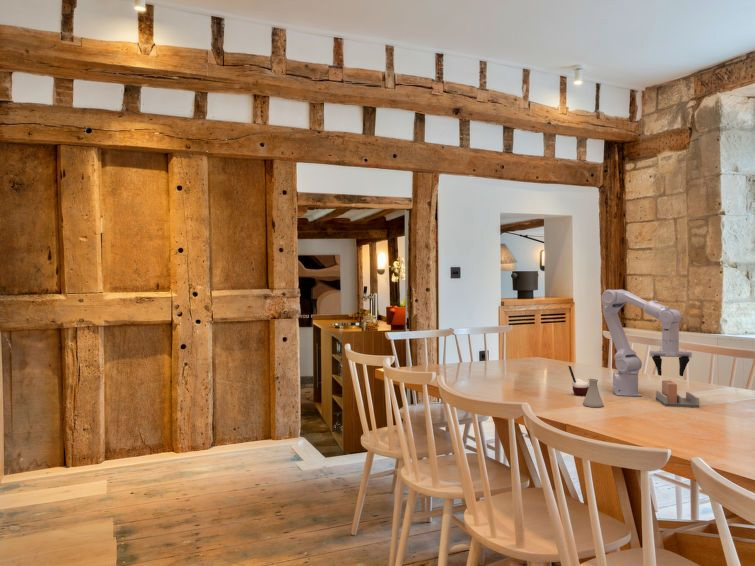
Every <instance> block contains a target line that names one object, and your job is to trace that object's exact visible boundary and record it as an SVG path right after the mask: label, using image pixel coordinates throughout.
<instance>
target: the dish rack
mask: <svg viewBox="0 0 755 566" xmlns="http://www.w3.org/2000/svg"><path fill="white" fill-rule="evenodd" d="M655 393H656V394H655V395H656V396H655V399H656V400H655V401H657V402H659V403H660V404H662V406H664V407H669V408H670V407H671V408H673V407H674V408H695V409H696V408H697V409H698V408H700V398H699V396H696V395H695V394H693V393H691V392H689V391H685V397H684V396H681V395H680V394H678V393H677V403H668V397H667V396H665V395H664V394H662V391H659V390H656V391H655Z"/></svg>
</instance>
